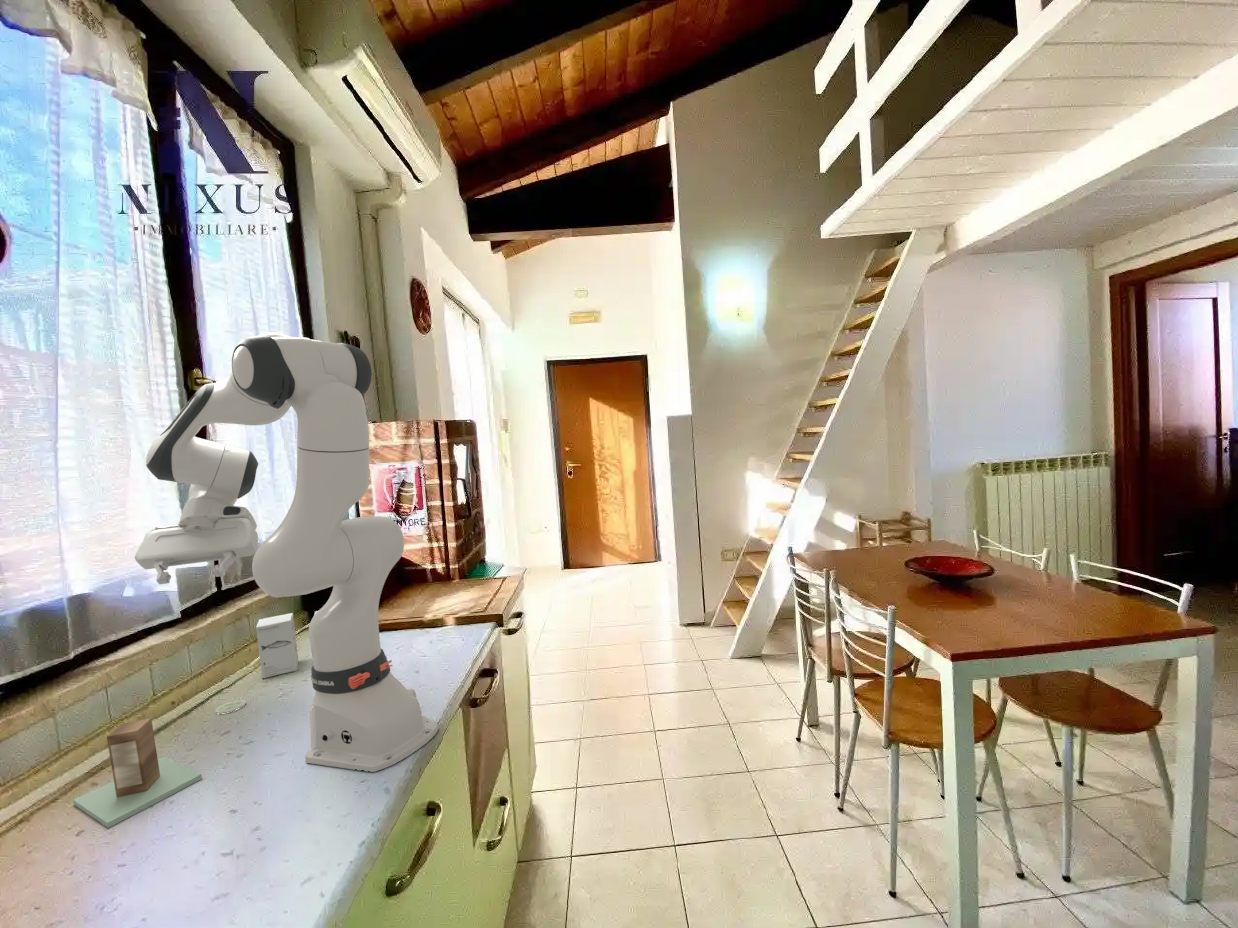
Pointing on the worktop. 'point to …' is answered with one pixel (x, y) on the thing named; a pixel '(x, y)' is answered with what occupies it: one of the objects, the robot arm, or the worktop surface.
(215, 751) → the worktop surface
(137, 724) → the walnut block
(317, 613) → the robot arm
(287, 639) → the supplement box
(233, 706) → the sign
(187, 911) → the worktop surface
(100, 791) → the rubber mat
